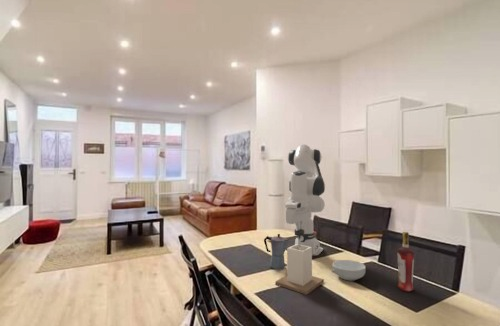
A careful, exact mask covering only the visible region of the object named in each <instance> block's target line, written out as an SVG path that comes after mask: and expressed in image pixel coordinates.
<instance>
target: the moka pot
mask: <svg viewBox="0 0 500 326" xmlns="http://www.w3.org/2000/svg"><path fill="white" fill-rule="evenodd" d="M267 240H268V241H270V247H271V250H270V249H269V247H268V243H267ZM263 242H264V245H265V246H264V247H265V249H266V252H268V253H271V256H270V263H269V267H270V269H273V270H277V271H279V270H284V269H285V268H286V267H285V266H286V265H285V255H284V254H285V251H286V249H287V248H286V247H287V246H288V243H289V242H290V240H289V239H288V238H286V237H284V236H281V234H280V233H278V234H277V236H268V235H267V236H265V238H264V239H263Z"/></svg>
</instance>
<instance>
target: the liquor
mask: <svg viewBox="0 0 500 326" xmlns="http://www.w3.org/2000/svg"><path fill="white" fill-rule="evenodd" d="M401 233H402V246H401V247H400V248H398V249H396V254H397V256H396V257H397V267H398V270H397V272H398V285H397V287H398V288H399V289H400V290H401V291H403V292H406V293H409V292H412V291H413V290H414V289H415V288H414V282H413V281H414V266H415V265H414V264H415V263H414V262H415V252H414V250H413V249H410V243H409V236H410V235H409V232H407V231H402V232H401Z"/></svg>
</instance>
